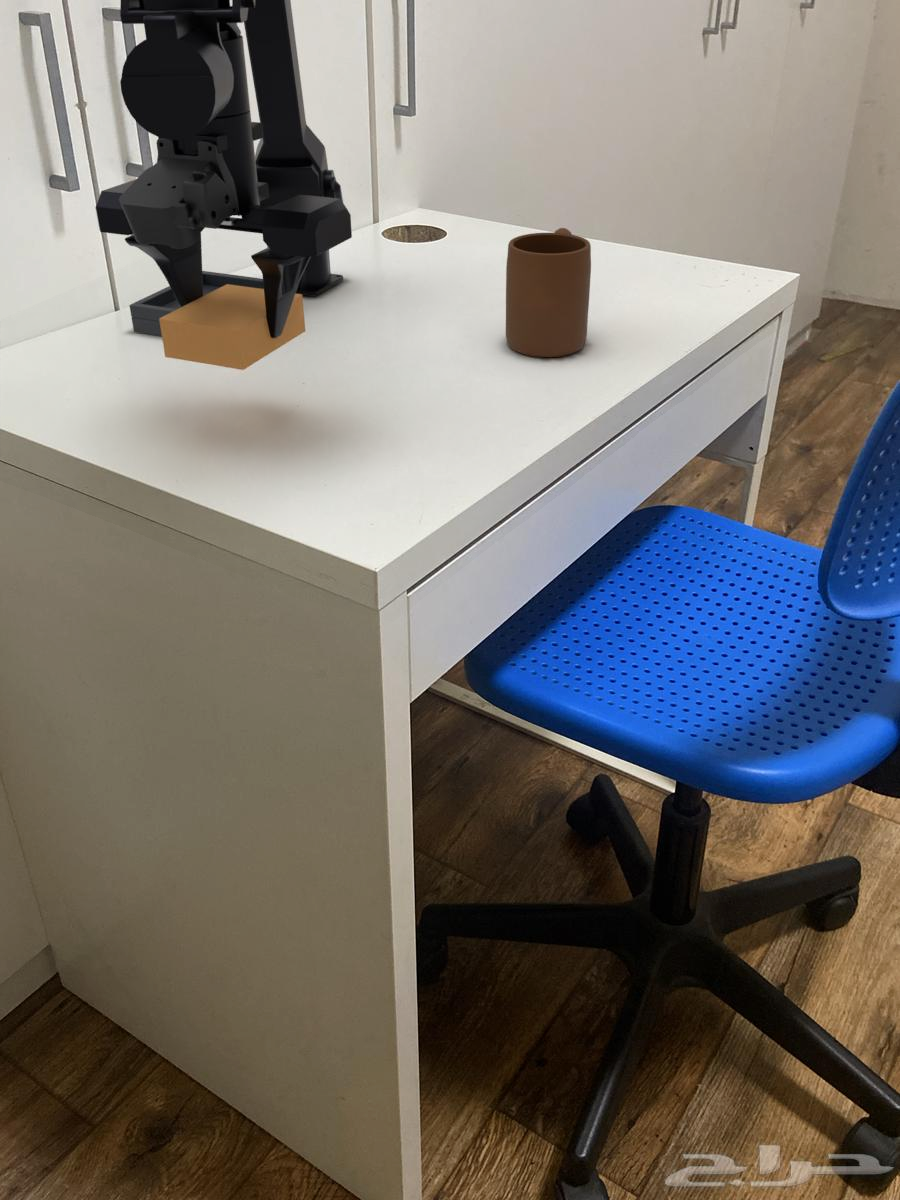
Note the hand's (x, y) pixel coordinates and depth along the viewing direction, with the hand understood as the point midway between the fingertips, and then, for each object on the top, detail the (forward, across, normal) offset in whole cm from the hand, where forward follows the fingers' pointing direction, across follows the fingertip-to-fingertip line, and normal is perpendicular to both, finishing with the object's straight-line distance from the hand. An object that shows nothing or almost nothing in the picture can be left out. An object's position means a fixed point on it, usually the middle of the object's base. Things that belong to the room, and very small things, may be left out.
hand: (235, 330), depth 84 cm
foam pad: (+1, 0, 0) cm, 1 cm away
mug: (+8, +16, +28) cm, 33 cm away
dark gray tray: (+8, -17, +20) cm, 27 cm away
